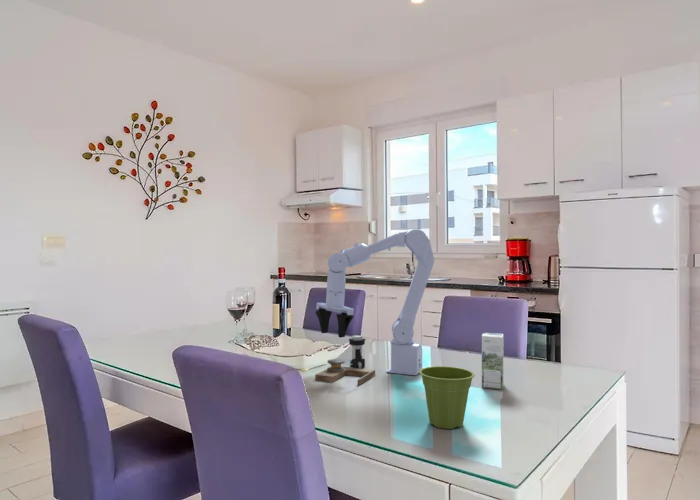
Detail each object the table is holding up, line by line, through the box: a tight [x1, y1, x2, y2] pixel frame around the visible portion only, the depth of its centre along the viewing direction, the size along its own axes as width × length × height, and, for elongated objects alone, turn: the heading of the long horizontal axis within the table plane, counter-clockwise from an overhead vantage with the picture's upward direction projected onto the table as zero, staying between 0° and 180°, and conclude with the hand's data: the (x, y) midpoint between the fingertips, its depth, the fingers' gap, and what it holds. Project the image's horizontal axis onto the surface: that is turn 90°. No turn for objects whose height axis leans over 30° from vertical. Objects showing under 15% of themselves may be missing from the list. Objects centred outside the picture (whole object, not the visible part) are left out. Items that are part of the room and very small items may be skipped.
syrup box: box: [481, 332, 505, 390], centre depth 137 cm, size 6×6×14 cm
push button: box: [347, 334, 366, 369], centre depth 159 cm, size 7×5×10 cm
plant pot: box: [418, 365, 476, 430], centre depth 108 cm, size 12×12×11 cm
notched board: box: [314, 358, 376, 386], centre depth 147 cm, size 14×12×4 cm
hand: (332, 334), depth 156 cm, fingers open, 7 cm apart
